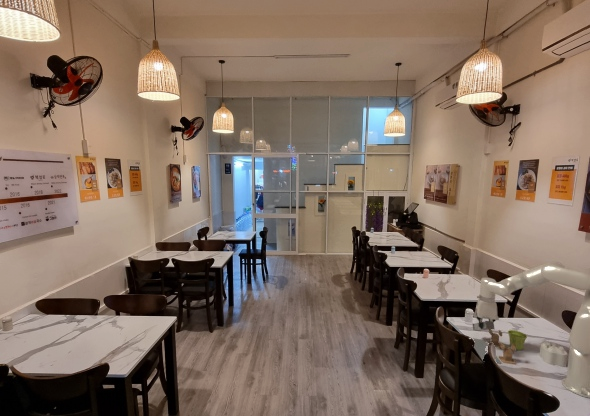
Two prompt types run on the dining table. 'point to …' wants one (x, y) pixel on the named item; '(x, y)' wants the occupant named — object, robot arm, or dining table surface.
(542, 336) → the dining table surface
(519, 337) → the plant pot
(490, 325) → the rail
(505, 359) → the post near
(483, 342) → the mat
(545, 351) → the lumpy-topped squat cylinder
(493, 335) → the post far
